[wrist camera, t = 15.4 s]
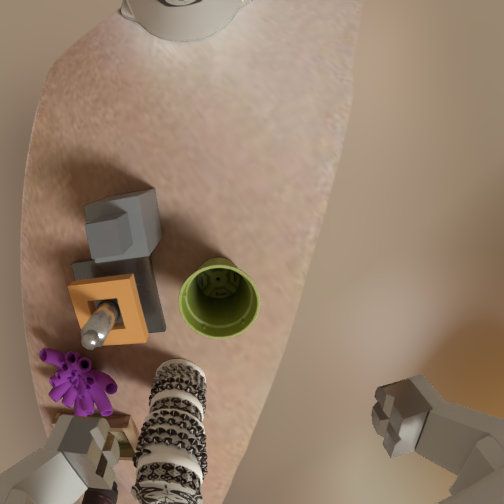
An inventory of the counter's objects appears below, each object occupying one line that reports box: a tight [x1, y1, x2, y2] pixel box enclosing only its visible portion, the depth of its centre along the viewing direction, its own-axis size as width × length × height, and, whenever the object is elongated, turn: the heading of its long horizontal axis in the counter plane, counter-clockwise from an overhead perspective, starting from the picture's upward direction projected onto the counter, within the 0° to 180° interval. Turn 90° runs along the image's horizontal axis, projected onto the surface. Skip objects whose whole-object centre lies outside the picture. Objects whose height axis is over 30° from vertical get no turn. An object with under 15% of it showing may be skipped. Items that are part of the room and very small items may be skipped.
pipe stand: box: [71, 256, 166, 350], centre depth 38 cm, size 12×12×14 cm
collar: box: [68, 273, 149, 346], centre depth 39 cm, size 9×9×2 cm
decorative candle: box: [131, 359, 208, 504], centre depth 37 cm, size 9×9×25 cm
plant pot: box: [179, 257, 260, 339], centre depth 41 cm, size 9×9×9 cm
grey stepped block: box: [84, 188, 163, 263], centre depth 35 cm, size 7×7×13 cm
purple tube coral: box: [40, 348, 117, 417], centre depth 44 cm, size 11×15×10 cm
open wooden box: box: [51, 413, 142, 461], centre depth 50 cm, size 10×17×4 cm, turn 96°
